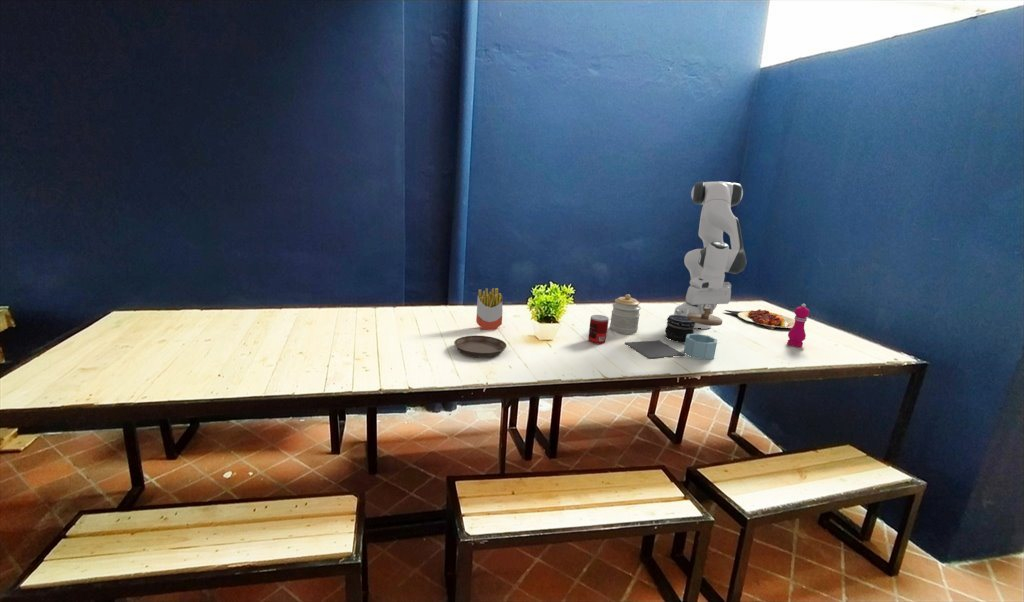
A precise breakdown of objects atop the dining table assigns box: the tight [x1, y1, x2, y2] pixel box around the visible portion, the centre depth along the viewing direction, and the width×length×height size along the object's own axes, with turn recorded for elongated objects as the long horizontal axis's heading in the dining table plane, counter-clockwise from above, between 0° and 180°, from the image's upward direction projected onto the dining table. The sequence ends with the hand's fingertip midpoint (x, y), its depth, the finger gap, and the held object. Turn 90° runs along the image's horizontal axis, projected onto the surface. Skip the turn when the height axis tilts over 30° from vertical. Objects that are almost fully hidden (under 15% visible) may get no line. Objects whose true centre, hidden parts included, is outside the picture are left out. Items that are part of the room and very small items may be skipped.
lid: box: [687, 308, 723, 327], centre depth 216 cm, size 14×14×5 cm
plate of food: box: [723, 308, 795, 331], centre depth 277 cm, size 31×35×7 cm
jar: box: [609, 293, 642, 335], centre depth 243 cm, size 13×13×18 cm
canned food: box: [587, 314, 610, 345], centre depth 225 cm, size 8×8×11 cm
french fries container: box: [475, 287, 503, 331], centre depth 231 cm, size 5×11×18 cm, turn 106°
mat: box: [624, 339, 686, 360], centre depth 221 cm, size 18×18×1 cm
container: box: [664, 314, 696, 343], centre depth 237 cm, size 13×13×10 cm
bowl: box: [683, 333, 718, 360], centre depth 219 cm, size 12×12×7 cm
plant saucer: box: [453, 334, 508, 359], centre depth 206 cm, size 21×21×3 cm
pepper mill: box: [787, 303, 811, 348], centre depth 239 cm, size 7×7×20 cm
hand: (705, 314), depth 216 cm, fingers closed on lid, 3 cm apart
